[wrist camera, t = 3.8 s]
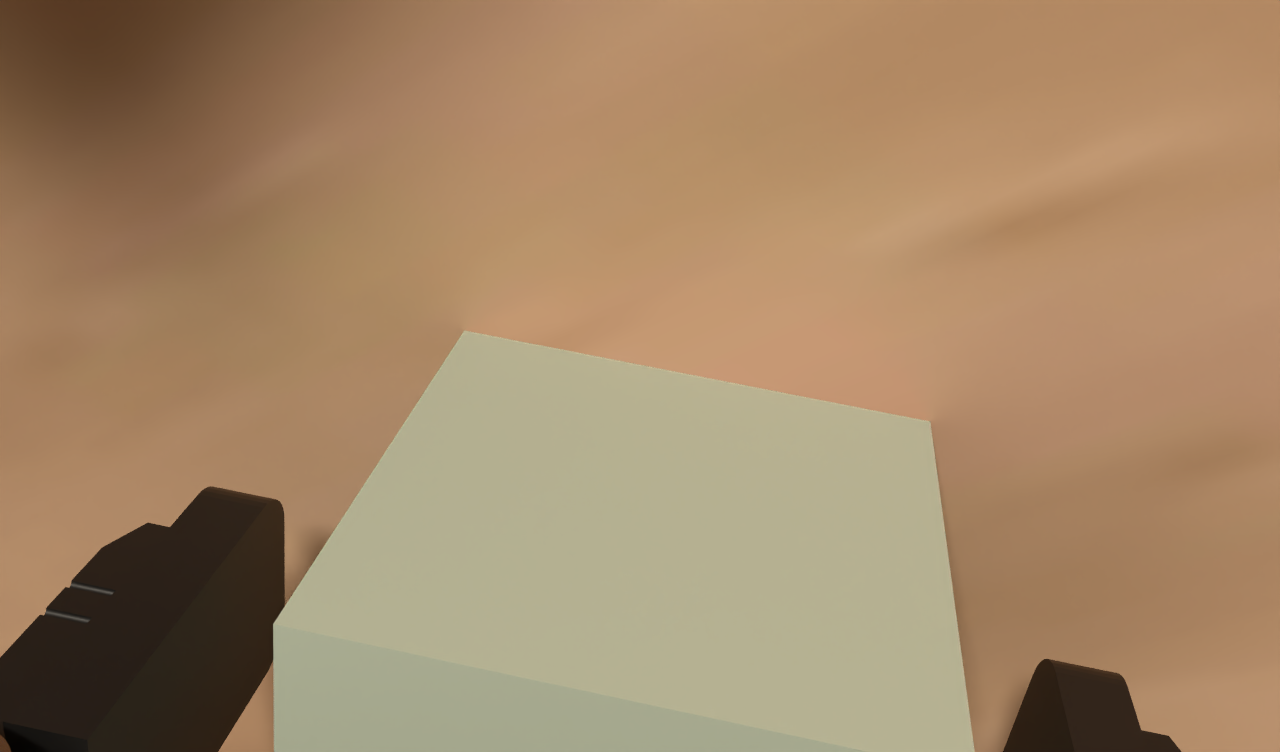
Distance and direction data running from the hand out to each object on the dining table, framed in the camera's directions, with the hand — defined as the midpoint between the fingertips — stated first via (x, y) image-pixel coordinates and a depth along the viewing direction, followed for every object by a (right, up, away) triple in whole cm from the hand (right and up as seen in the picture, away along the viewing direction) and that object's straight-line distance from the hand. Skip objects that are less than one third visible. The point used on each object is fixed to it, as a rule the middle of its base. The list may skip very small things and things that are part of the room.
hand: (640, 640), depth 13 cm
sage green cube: (0, +1, +1) cm, 2 cm away
